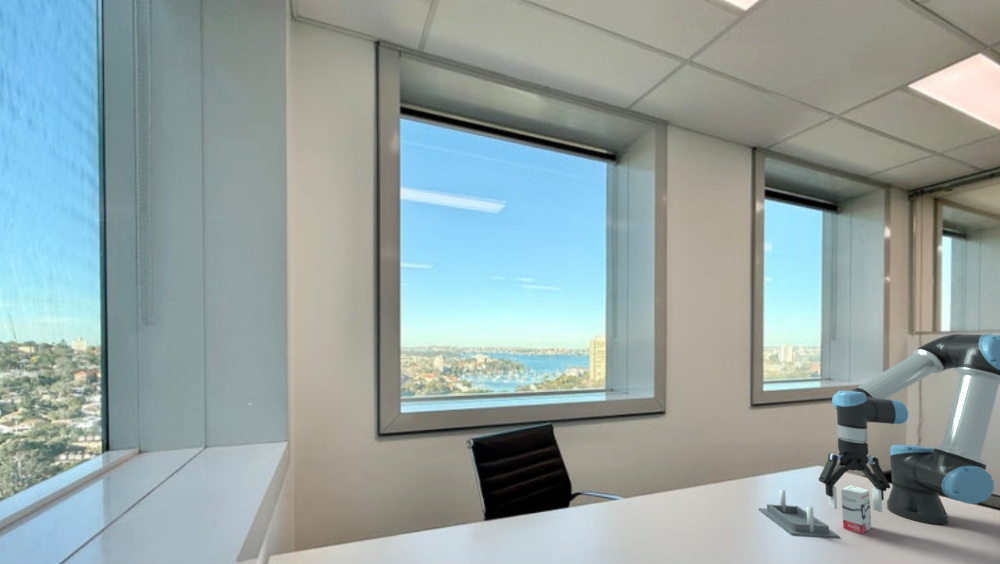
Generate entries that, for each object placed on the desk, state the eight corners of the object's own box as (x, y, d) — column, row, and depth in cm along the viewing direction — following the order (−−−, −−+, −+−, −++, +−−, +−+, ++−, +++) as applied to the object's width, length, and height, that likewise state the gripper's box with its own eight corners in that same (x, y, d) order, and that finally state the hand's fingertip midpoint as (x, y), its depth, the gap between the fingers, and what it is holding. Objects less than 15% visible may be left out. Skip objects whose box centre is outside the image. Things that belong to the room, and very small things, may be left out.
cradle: (800, 512, 146) (799, 489, 146) (839, 538, 128) (838, 511, 129) (758, 510, 146) (757, 486, 147) (791, 535, 129) (790, 508, 129)
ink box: (862, 534, 131) (860, 494, 132) (842, 528, 135) (840, 489, 136) (872, 528, 135) (869, 489, 137) (852, 522, 139) (850, 484, 141)
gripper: (883, 439, 141) (886, 506, 139) (804, 434, 142) (806, 500, 140) (903, 445, 134) (906, 516, 131) (820, 440, 135) (822, 510, 133)
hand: (854, 508), depth 136 cm, fingers open, 13 cm apart
